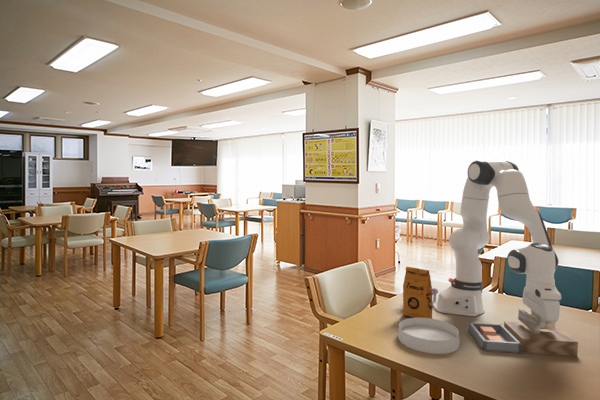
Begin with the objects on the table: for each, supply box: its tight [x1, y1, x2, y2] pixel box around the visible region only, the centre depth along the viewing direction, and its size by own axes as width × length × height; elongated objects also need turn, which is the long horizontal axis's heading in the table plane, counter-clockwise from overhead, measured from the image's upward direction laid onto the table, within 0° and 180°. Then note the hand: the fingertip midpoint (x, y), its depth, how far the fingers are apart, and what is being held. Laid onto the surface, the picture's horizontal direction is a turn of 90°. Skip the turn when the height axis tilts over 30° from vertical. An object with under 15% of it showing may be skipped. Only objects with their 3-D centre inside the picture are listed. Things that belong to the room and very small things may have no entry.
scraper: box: [517, 308, 556, 334], centre depth 137 cm, size 9×14×4 cm, turn 171°
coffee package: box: [402, 266, 434, 319], centre depth 164 cm, size 10×12×22 cm
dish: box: [397, 317, 461, 355], centre depth 141 cm, size 22×22×5 cm
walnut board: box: [503, 321, 579, 357], centre depth 138 cm, size 18×16×5 cm
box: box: [468, 321, 522, 354], centre depth 140 cm, size 12×18×4 cm
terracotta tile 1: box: [486, 335, 503, 341], centre depth 136 cm, size 4×4×2 cm
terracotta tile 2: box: [480, 326, 496, 338], centre depth 144 cm, size 4×4×2 cm
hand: (538, 324), depth 137 cm, fingers closed on scraper, 3 cm apart
